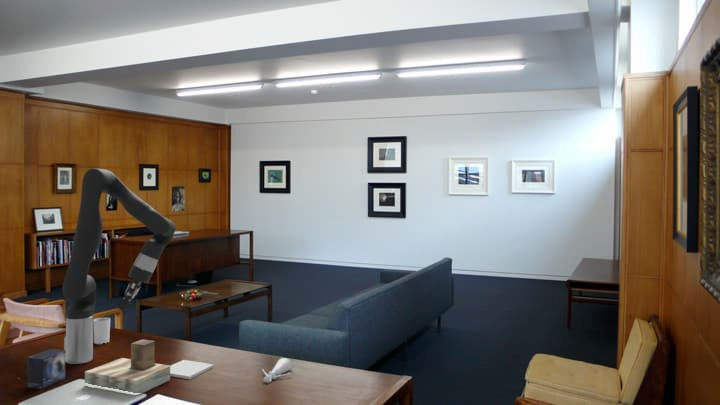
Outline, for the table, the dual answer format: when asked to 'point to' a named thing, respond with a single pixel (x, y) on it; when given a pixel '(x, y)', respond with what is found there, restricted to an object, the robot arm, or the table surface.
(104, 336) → the drinking glass
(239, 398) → the table surface
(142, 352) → the brown wooden block
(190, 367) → the grey pad
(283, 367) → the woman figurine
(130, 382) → the slotted wooden base
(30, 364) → the small box
